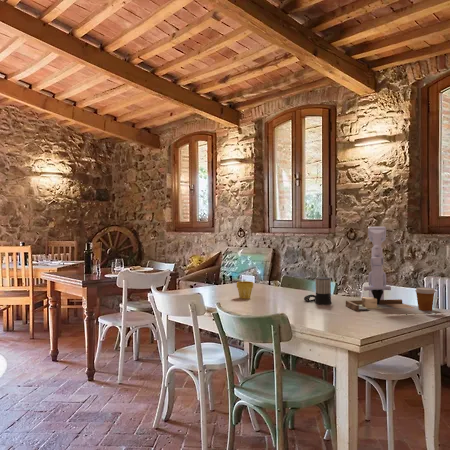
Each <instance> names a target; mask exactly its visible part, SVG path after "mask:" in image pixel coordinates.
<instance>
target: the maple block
mask: <svg viewBox="0 0 450 450" xmlns="http://www.w3.org/2000/svg"><path fill="white" fill-rule="evenodd" d="M361 300H362V306H364V307H366V308H373V307H377V299H376V298H373V297H369V296H365V297H364V296H363V297H361Z"/></svg>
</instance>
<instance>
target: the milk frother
mask: <svg viewBox="0 0 450 450" xmlns="http://www.w3.org/2000/svg"><path fill="white" fill-rule="evenodd" d="M314 279H315V294H308V295H305V296H304V298H303V300H304V301H305V302H308V303H309V302H310V303H313V302H315V303H314V304H317V305H324V306H325V305H326V306H327V305H332V294H331V293H332V291H331V290H332V287H331V284H332V283H331V282H332V281H331V280H332V277H327V276H317V277H315V278H314ZM311 298H314V299H311Z"/></svg>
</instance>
